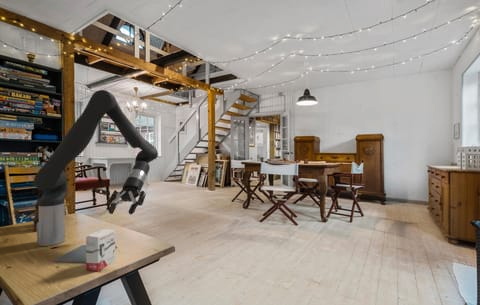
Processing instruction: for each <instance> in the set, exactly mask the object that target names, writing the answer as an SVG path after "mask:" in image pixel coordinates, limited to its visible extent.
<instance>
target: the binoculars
mask: <svg viewBox="0 0 480 305" xmlns="http://www.w3.org/2000/svg"><path fill="white" fill-rule="evenodd" d="M38 190H39V189H38ZM43 194H44V190H39V191H38V194H37V196H38V198H37V200H36V202H35V205H34V207H35V209H34V216H33V217H34V218H33V222H32V223H33V227H32V232H34V233H37V223H38V222H39V204H38V202H39V199H40V198H41V197H42V196H43Z"/></svg>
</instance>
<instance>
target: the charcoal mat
mask: <svg viewBox="0 0 480 305" xmlns="http://www.w3.org/2000/svg"><path fill="white" fill-rule="evenodd" d="M117 248H118V246H117V245H115V250H116V249H117ZM52 262H54V263H55V262H56V263H57V262H58V263H75V264H86V244H81V245H80V246H77V247H75V248H74V249H72V250H70V251H68V252H66V253H64V254H62V255H60V256H59V257H56V258H55V259H53V260H52Z"/></svg>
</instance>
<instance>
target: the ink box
mask: <svg viewBox="0 0 480 305" xmlns="http://www.w3.org/2000/svg"><path fill="white" fill-rule="evenodd" d="M85 238H86V239H85V245H86V263H85V264H86V266H85V268H86V271H93V272H99V271H101V270H102V269H104V268H106V267H107V266H108V265H110V264H112V263H113V262H115V261H116V249H115V246H116V230H115V229H110V228H102V229H100V230H98V231H95V232H93V233H90V234H87V235H86V236H85Z"/></svg>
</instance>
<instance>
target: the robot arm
mask: <svg viewBox="0 0 480 305" xmlns="http://www.w3.org/2000/svg"><path fill="white" fill-rule="evenodd" d="M105 115H106V116H107V117H108V118H110V119H111V121H112V122H113V123H114V125H115V126H116V128H117V130H118V131H119V133H120V134H121V135H122V137H123V139H124V140H126V142H127V143H128V144H129V146H130V147H131V148H132V149H137V148H138V149H139V150H140V151H139V152H138V153H137V154H136V156H135V159H134V160H135V161H134V165H133V167H132V168H131V170H130V172H129V174H127V177H126V179H125V181H124V183H123V185H122V189H121V190H120V191H117V190H114V191H113V192H112V193H111V195H110V197H109V199H108V200H107V202H108V204H109V205H110V206H109V207H108V213H109V214H110V215H113V214H114V212H115V211H116V208H117V206H118V205H120V204H122V203H124V202H125V203H126V202H129V203H132V204H131V205H130V207H129V210H128V214H129V215H133V214H134V213H135V211H136V209H137V207H138V206H143V204H144V201H145V198H146V192H145V191H144V190H142V189H143V187H144V185H145V182H146V178H147V176H148V173H149V171H150V167H151V166H150V164H149V163H151V162H153V161H154V160H156V159H157V158H158V157H159V153H158V152H159V151H158V149H157V148H156V147H155V146H154V145H153V144H152V143H151V142H149V141H148V140H147V139H145V138H144V137H143V135H141V133H140V132H139V130H138V129H137V128H136V127H135V125H134V124H133V123H132V122H131V121H130V120H129V118H128V117H127V116H126V114H125V113H124V111H123V110H122V108H121V106H120V105H119V103H118V102H117V99H116V97H115V95H114V94H113V93H111V92H110V91H108V90H106V89H99V90H96V91H95V92H94V93H93V94H92V95H91V97H90V99H89V101H88V102H87V105H86V106H85V108H84V110H83V112H82V113H81V114H80V116H79V117H78V118H77V119H76V120H75V122H74V123H73V124H72V126H71V127H70V128H69V129H68V131H67V132H66V133H65V135H64V137H63V138H62V140H61V142H60V143H59V145H58V146H57V147H56V149H55V150H54V152H53V153H52V155H50V157H49V159H48V160H47V161H46V162H45V163H44V164H43V166H42V167H41V168H40V169H39V170H38V171H37V172H36V174H35V175H34V178H33V185H34V187H35V188H36V189H38V190H44V194H43V196H42V197H41V198H40V199H39V202H38V204H39V222H38V223H37V232H36V245H38V246H40V247H49V246H54V245H59V244H61V243H63V242H65V241H66V209H65V208H66V207H65V205H66V204H65V201H66V200H65V199H66V197H67V192H68V177H67V174H66V172H65V169H66V168H67V166H69V164H70V163H71V162H72V161H74V160H75V159H77V157H78V156H79V155H81V154H82V153H83V152H84V151H85V149H86V148H87V147H88V145H89V144H90V142H91V141H92V139H93V137H94V134H95V132H96V129H97V127H98V125H99V123H100V122H101V120H102V118H103V117H104V116H105ZM136 198H138V199H136Z"/></svg>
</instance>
